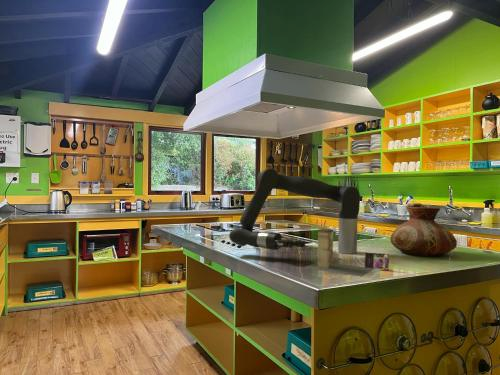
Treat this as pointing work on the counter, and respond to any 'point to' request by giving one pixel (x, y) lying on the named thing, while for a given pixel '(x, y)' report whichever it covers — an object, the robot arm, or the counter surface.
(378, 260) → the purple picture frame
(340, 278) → the counter surface
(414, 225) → the brown clay pot
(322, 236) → the beech block
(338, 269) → the rubber mat
